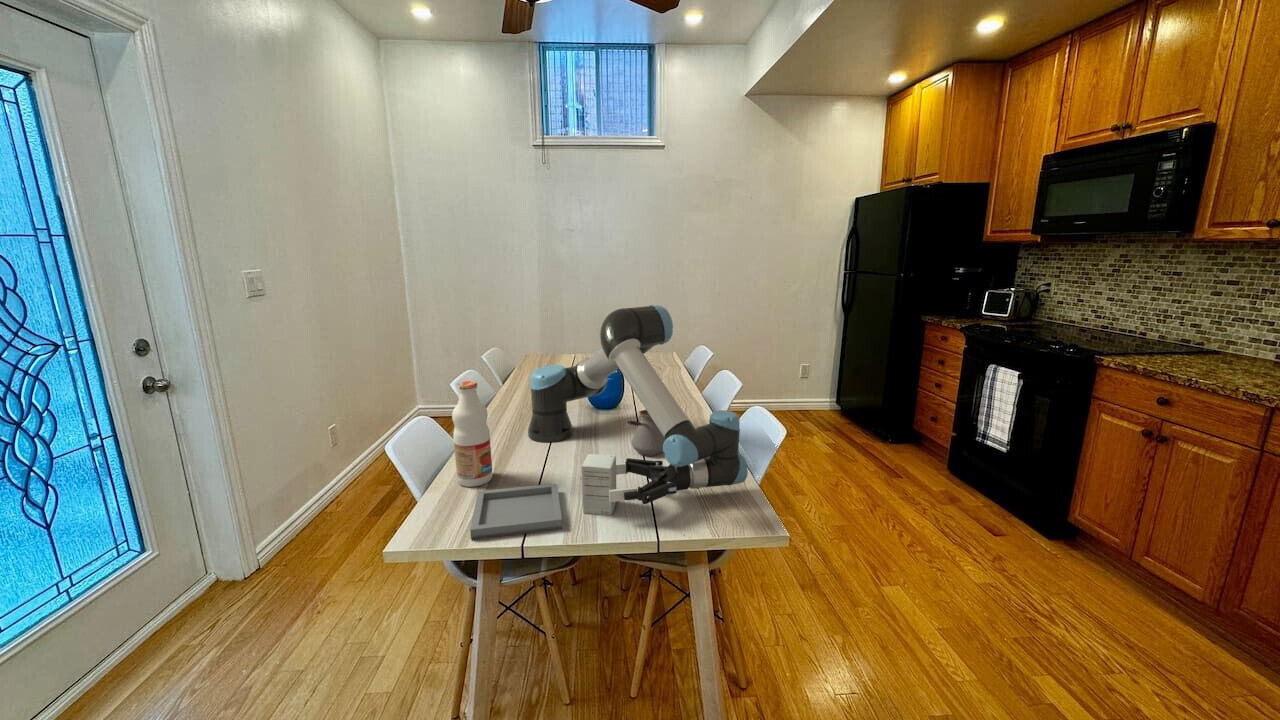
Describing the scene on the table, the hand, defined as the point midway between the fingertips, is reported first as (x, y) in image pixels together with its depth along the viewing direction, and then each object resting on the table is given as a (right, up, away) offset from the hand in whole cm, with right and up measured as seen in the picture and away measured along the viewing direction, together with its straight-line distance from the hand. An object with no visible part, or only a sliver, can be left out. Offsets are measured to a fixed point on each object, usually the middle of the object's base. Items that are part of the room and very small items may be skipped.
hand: (604, 482), depth 122 cm
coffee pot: (+10, 0, +31) cm, 33 cm away
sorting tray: (-21, -7, -1) cm, 22 cm away
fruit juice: (-37, -3, +16) cm, 41 cm away
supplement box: (-1, -7, +2) cm, 7 cm away
